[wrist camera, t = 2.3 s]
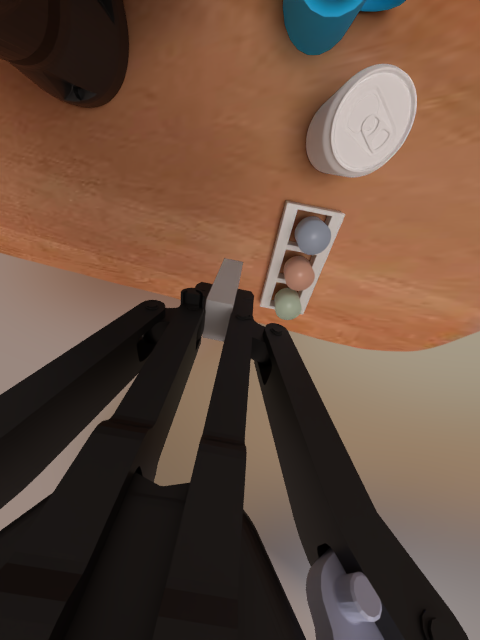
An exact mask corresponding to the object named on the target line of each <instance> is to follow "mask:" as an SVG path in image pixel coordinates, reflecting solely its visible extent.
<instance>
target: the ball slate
mask: <svg viewBox="0 0 480 640" xmlns="http://www.w3.org/2000/svg"><path fill="white" fill-rule="evenodd" d="M295 239H296V241H297V244H298V246H299V248H300V250H301V251H302V252H303V253H305V254H308V255H315V254H318V253H321V252H322V251H323V250H325V249H326V248H327V246H328V245H329V243H330V240H331V231H330V229H329V227H328V226H327V225H326V224H325V223H324V222H323V221H322V220H321V219H320V218H318V217H315V216H310V217H306V218H304V219H303V220H301V221H300V222H299V223H298V225H297V227H296V229H295Z"/></svg>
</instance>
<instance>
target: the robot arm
mask: <svg viewBox="0 0 480 640" xmlns="http://www.w3.org/2000/svg"><path fill="white" fill-rule="evenodd" d="M128 50H129V42H128V28H127V21H126V15H125V10H124V5H123V1H122V0H0V58H2V59H4V60H7V61H8V62H10V63H11V64H12V65H13V66H15V67H16V68H17V69H18V70H19V71H21V72H22V73H23V74H24V75H26V76H27V77H28V78H29V79H30V80H32V81H33V82H34V83H35V84H37V85H38V86H39V87H40V88H42V89H43V90H44V91H46V92H47V93H49V94H50V95H52V96H54V97H56V98H58V99H60V100H62V101H64V102H67V103H70V104H74V105H77V106H81V107H88V108H91V107H98V106H101V105H103V104H105V103H107V102H108V101H110V100H111V99H112V98H113V97H114V96H115V95H116V93H117V92H118V90H119V88H120V87H121V84H122V82H123V79H124V77H125V73H126V68H127V62H128ZM242 265H243V262H240V261H236V260H231V259H226V258H224V261H223V263H222V265H221V267H220V270H219V272H218V274H217V276H216V279H215V281H214V283H213V284H209V283H204V282H201V283H199V284H197V285H196V287H195V288H186V289H183V290H182V291H181V305H180V306H179V307H178V308H165V304H164V303H162V302H161V301H157V300H148V301H144V302H142V303H140V304H139V305H137V306H136V307H134V308H133V309H131V310H130V311H128V312H127V313H125V314H124V315H122V316H121V317H119V318H118V319H116V320H114V321H113V322H111V323H110V324H108V325H107V326H105V327H104V328H102V329H101V330H99V331H98V332H96V333H94V334H93V335H91V336H90V337H88V338H87V339H85V340H84V341H82V342H81V343H79V344H78V345H76V346H75V347H73V348H71V349H70V350H69V351H67V352H65V353H64V354H62V355H61V356H59V357H58V358H56V359H55V360H53V361H52V362H50V363H49V364H47V365H45V366H44V367H42V368H41V369H39V370H38V371H36V372H35V373H33V374H32V375H30V376H29V377H27V378H26V379H24V380H23V381H21V382H19V383H18V384H16V385H15V386H13V387H12V388H10V389H9V390H7V391H6V392H4V393H3V394H1V395H0V509H1V508H2V507H3V506H4V505H6V504H7V503H8V502H9V501H10V500H12V499H13V498H14V497H15V496H16V495H17V494H18V493H20V492H21V491H22V490H23V489H24V488H25V487H26V486H27V485H28V484H30V482H32V481H33V480H34V479H35V478H36V477H37V476H38V475H39V474H40V473H41V472H42V471H43V470H44V469H45V468H46V467H47V466H48V465H49V464H50V463H51V462H52V461H53V460H54V459H55V458H56V457H57V455H59V454H60V453H61V452H62V451H63V450H64V449H65V448H66V447H67V445H68V444H69V443H70V442H71V441H72V440H73V439H74V438H75V437H76V436H77V435H78V434H79V433H80V432H81V431H82V430H83V429H84V428H85V427H86V426H87V425H88V424H89V423H90V422H91V421H92V420H93V419H94V418H95V417H96V416H97V415H98V414H99V413H100V412H101V411H102V410H103V409H104V408H105V406H107V405H108V404H109V403H110V402H111V401H112V399H114V397H116V395H117V394H118V393H119V392H120V391H121V390H122V389H123V388H124V387H125V386H126V385H127V384H128V383H129V382H130V381H131V380H132V379H133V378H134V377H135V376H136V375H137V374H138V373H139V374H138V375H137V377H136V379H135V380H134V382H133V383H132V385H131V387H130V388H129V390H128V392H127V393H126V395H125V397H124V398H123V400H122V401H121V403H120V405H119V406H118V408H117V410H116V411H115V413H114V415H113V416H112V417H111V418H110V419H109V420H106V421H102V422H101V423H100V424H99V425H97V427H96V428H95V430H94V431H93V432H92V434H91V435H90V437H89V438H88V440H87V441H86V443H85V444H84V446H83V447H82V449H81V451H80V452H79V454H78V455H77V457H76V458H75V460H74V461H73V463H72V464H71V466H70V467H69V469H68V470H67V472H66V474H65V475H64V477H63V479H62V480H61V481H60V483H59V484H58V486H57V487H56V489H55V491H54V492H53V493H52V494H51V495H49V496H48V497H46V498H45V499H43V500H42V501H41V502H39V503H38V504H37V505H35V506H34V507H32V508H31V509H30V510H28V511H27V512H26V513H24V514H23V515H21V516H20V517H19V518H17V519H16V520H14V521H13V522H12V523H10V524H9V525H8V526H6V527H5V528H3V529H2V530H1V531H0V640H306V638H305V636H304V634H303V631H302V629H301V627H300V625H299V623H298V621H297V618H296V616H295V614H294V612H293V609H292V607H291V605H290V603H289V601H288V599H287V596H286V594H285V592H284V589H283V587H282V585H281V583H280V581H279V578H278V576H277V574H276V572H275V570H274V567H273V565H272V563H271V561H270V559H269V556H268V555H267V552H266V550H265V547H264V545H263V543H262V541H261V539H260V537H259V534H258V532H257V530H256V528H255V526H254V525H253V523H252V521H251V519H250V518H249V516H248V515H247V514H246V512H245V511H244V510H243V502H244V501H243V500H244V486H245V470H246V446H245V427H246V426H245V425H246V412H247V399H248V386H249V373H250V359H253V360H254V361H255V362H254V364H255V367H256V371H257V375H258V379H259V383H260V387H261V391H262V395H263V399H264V403H265V406H266V411H267V414H268V419H269V423H270V426H271V430H272V434H273V438H274V442H275V446H276V450H277V454H278V458H279V462H280V466H281V470H282V474H283V478H284V482H285V486H286V489H287V493H288V497H289V501H290V505H291V509H292V513H293V517H294V520H295V524H296V527H297V530H298V534H299V537H300V540H301V543H302V545H303V548H304V550H305V553H306V556H307V558H308V561H309V563H310V565H311V568H310V570H309V573H308V576H307V582H306V593H307V601H308V605H309V608H310V612H311V615H312V619H313V622H314V626H315V633H316V640H469V639H468V637H467V635H466V633H465V632H464V630H463V628H462V627H461V625H460V624H459V622H458V621H457V619H456V617H455V616H454V614H453V613H452V612H451V610H450V609H449V607H448V606H447V605H446V604H445V602H444V601H443V600H442V598H441V597H440V596H439V594H438V593H437V592H436V590H435V589H434V588H433V586H432V585H431V584H430V582H429V581H428V580H427V578H426V577H425V576H424V574H423V573H422V572H421V570H420V569H419V568H418V566H417V565H416V564H415V562H414V561H413V560H412V558H411V557H410V556H409V554H408V553H407V552H406V550H405V549H404V548H403V546H402V545H401V544H400V542H399V541H398V540H397V538H396V537H395V536H394V534H393V533H392V532H391V530H390V529H389V528H388V526H387V525H386V524H385V522H384V521H383V520H382V519H381V517H380V516H379V514H378V513H377V512H376V509H375V508H374V505H373V503H372V501H371V499H370V497H369V495H368V493H367V491H366V489H365V487H364V485H363V483H362V481H361V479H360V477H359V475H358V473H357V471H356V469H355V467H354V465H353V463H352V461H351V459H350V456H349V454H348V453H347V450H346V449H345V446H344V444H343V442H342V440H341V438H340V437H339V434H338V432H337V430H336V428H335V426H334V424H333V422H332V420H331V418H330V416H329V414H328V412H327V410H326V408H325V406H324V404H323V402H322V400H321V398H320V395H319V393H318V391H317V389H316V387H315V385H314V383H313V381H312V379H311V377H310V375H309V373H308V371H307V369H306V367H305V365H304V363H303V361H302V359H301V357H300V355H299V353H298V351H297V349H296V347H295V345H294V343H293V340H292V338H291V336H290V335H289V332H288V331H287V329H286V328H285V327H283V326H282V325H279V324H275V323H270V324H267V325H266V327H264V326H261V325H260V324H258V323H257V322H255V321H254V319H253V316H252V314H253V300H254V295H253V294H252V292H251V291H246V290H241V289H238V286H239V281H240V276H241V270H242ZM202 334H203V337H204V338H209V339H214V340H219V341H224V345H223V349H222V353H221V358H220V362H219V366H218V370H217V375H216V379H215V383H214V387H213V392H212V396H211V400H210V405H209V409H208V413H207V417H206V422H205V426H204V430H203V435H202V437H201V440H200V444H199V448H198V452H197V456H196V461H195V465H194V469H193V473H192V477H191V482H190V483H185V484H177V485H171V486H159V485H157V484H155V483H154V478H155V475H156V469H157V465H158V461H159V458H160V455H161V452H162V449H163V447H164V444H165V441H166V438H167V435H168V433H169V430H170V427H171V424H172V422H173V418H174V416H175V413H176V410H177V408H178V405H179V402H180V399H181V396H182V394H183V391H184V388H185V385H186V382H187V380H188V377H189V374H190V371H191V369H192V366H193V363H194V360H195V358H196V355H197V352H198V349H199V346H200V344H201V336H202Z"/></svg>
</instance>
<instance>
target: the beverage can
mask: <svg viewBox="0 0 480 640" xmlns="http://www.w3.org/2000/svg"><path fill="white" fill-rule="evenodd" d="M416 107H417V95H416V90H415V86H414V84H413V81H412V80H411V78H410V77H409V75H408V74H407V73H405V72H404V71H403V70H401V69H400V68H398V67H396V66H394V65H390V64H377V65H373V66H370V67H367V68H365V69H363V70H361V71H360V72H358V73H357V74H355V75H354V76H353V77H352V78H350V79H349V80H348V81H347V82H346V83H345V84H344V85H343V86H342V87H341V88H340V89H339V90H338V91H337V92H336V93H335V94H334V95H332V96H331V97H330V98H329V99H328V100H327V101H326V102H325V103H324V104H323V105H322V106H321V107H320V108H319V110H318V111H317V112H316V114H315V115H314V117H313V119H312V121H311V123H310V125H309V128H308V132H307V137H306V151H307V155H308V158H309V161H310V162H311V164H312V165H313V166H314V168H316V169H317V170H318V171H320V172H323V173H327V174H333V175H339V176H344V177H361V176H364V175H367V174H370V173H372V172H374V171H375V170H377V169H379V168H380V167H381V166H383V165H384V164H385V163H386V162H387V161H388V160H389V159H390V158H391V157H392V156H393V155H394V154H395V153H396V152H397V151H398V150H399V148H400V147H401V146H402V144H403V143H404V141H405V140H406V138H407V136H408V134H409V132H410V130H411V127H412V125H413V122H414V118H415V114H416Z"/></svg>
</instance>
